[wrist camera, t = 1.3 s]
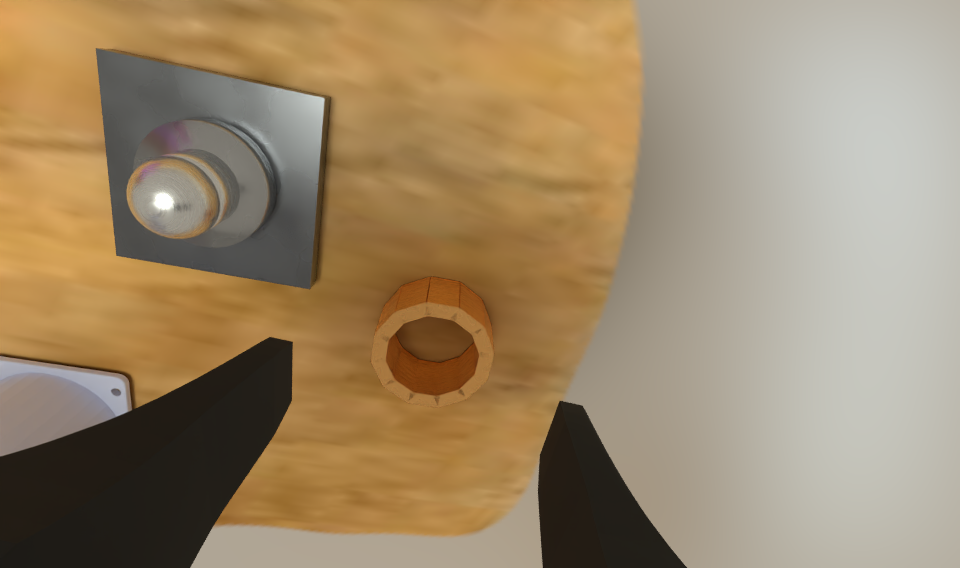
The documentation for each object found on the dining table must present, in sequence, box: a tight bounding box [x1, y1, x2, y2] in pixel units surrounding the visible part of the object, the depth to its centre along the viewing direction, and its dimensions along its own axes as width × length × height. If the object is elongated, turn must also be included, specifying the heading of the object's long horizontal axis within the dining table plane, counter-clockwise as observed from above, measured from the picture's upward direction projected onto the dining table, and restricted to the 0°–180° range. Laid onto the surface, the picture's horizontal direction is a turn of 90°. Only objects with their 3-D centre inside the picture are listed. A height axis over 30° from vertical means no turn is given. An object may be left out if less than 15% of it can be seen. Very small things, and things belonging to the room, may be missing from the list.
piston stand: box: [96, 48, 331, 289], centre depth 20 cm, size 9×9×6 cm
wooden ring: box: [371, 277, 494, 408], centre depth 24 cm, size 6×6×3 cm
